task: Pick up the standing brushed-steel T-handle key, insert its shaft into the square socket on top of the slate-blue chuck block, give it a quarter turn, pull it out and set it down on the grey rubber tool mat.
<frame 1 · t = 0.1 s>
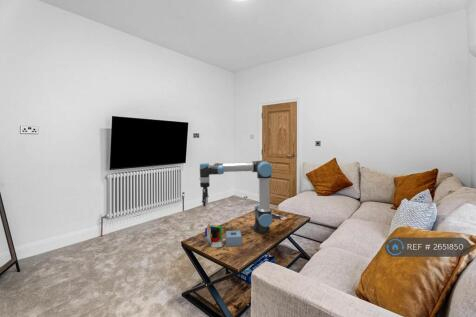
hand: (205, 207, 182), 28 cm above the table, fingers open, 13 cm apart
chuck block: (233, 242, 179), on the table
puzzle toy: (213, 239, 185), on the table, touching tool mat
chuck key: (209, 245, 174), on the table
tool mat: (216, 245, 175), on the table
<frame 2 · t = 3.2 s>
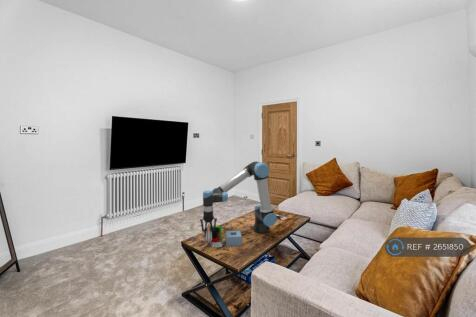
hand: (209, 239, 174), 5 cm above the table, fingers closed on chuck key, 3 cm apart
chuck key: (209, 245, 174), on the table, touching gripper
everything else where it was.
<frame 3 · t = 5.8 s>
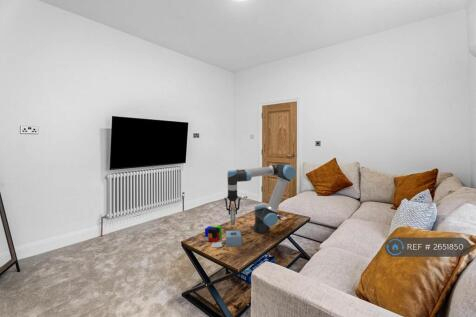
hand: (232, 218, 177), 20 cm above the table, fingers closed on chuck key, 3 cm apart
chuck key: (232, 224, 177), point 15 cm above the table, touching gripper
everything else where it was.
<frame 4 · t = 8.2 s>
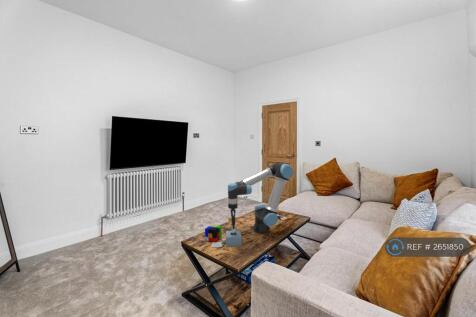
hand: (233, 231, 178), 9 cm above the table, fingers closed on chuck key, 3 cm apart
chuck key: (233, 237, 178), point 4 cm above the table, touching gripper
everything else where it was.
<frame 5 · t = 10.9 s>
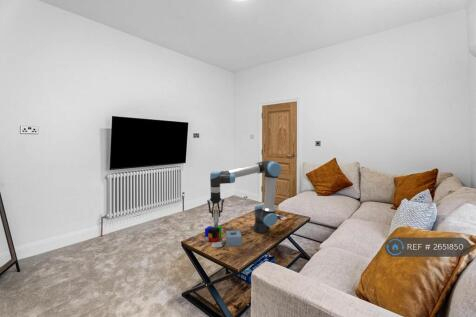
hand: (216, 221, 173), 20 cm above the table, fingers closed on chuck key, 3 cm apart
chuck key: (216, 227, 174), point 15 cm above the table, touching gripper
everything else where it was.
when the fingers open (7 cm above the table, at t = 13.3 s): chuck key stays where it is, resting on tool mat.
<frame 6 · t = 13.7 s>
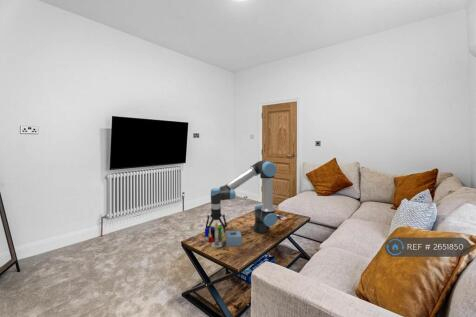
hand: (216, 235, 174), 8 cm above the table, fingers open, 9 cm apart
chuck key: (216, 244, 175), point 1 cm above the table, touching tool mat
everything else where it was.
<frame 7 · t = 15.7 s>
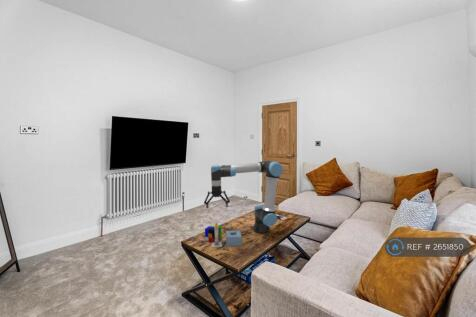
hand: (217, 211, 174), 27 cm above the table, fingers open, 13 cm apart
nothing on the table moved.
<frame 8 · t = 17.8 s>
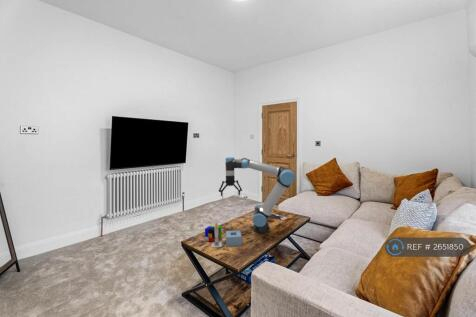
hand: (230, 199, 191), 32 cm above the table, fingers open, 13 cm apart
nothing on the table moved.
at the end: chuck key inside the target area on the tool mat (0.0 cm from its centre), point 0.5 cm above the tool mat's base; the gripper is holding nothing; chuck key touching tool mat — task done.
